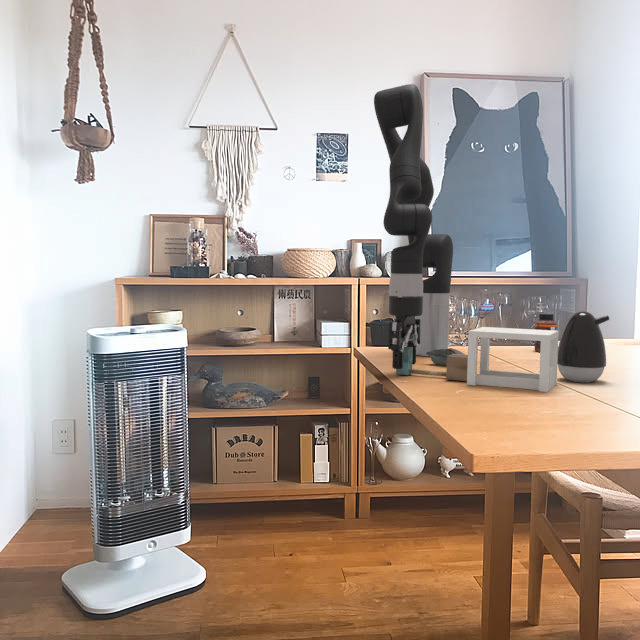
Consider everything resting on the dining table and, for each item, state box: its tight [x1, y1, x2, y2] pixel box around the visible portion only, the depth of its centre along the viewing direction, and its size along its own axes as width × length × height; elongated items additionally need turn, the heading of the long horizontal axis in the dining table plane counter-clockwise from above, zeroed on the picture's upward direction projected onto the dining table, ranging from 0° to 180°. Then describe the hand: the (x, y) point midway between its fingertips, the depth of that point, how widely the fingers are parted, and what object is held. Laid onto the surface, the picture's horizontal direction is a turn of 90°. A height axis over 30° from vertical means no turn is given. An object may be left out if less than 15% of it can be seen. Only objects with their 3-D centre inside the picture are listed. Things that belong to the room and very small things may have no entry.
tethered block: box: [395, 346, 468, 382], centre depth 154 cm, size 5×17×6 cm, turn 63°
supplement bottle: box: [534, 312, 558, 353], centre depth 205 cm, size 6×6×11 cm
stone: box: [426, 347, 466, 366], centre depth 174 cm, size 11×4×10 cm
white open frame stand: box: [466, 326, 560, 393], centre depth 146 cm, size 12×16×11 cm
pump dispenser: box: [557, 310, 610, 383], centre depth 152 cm, size 10×10×15 cm
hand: (404, 366), depth 157 cm, fingers open, 8 cm apart
